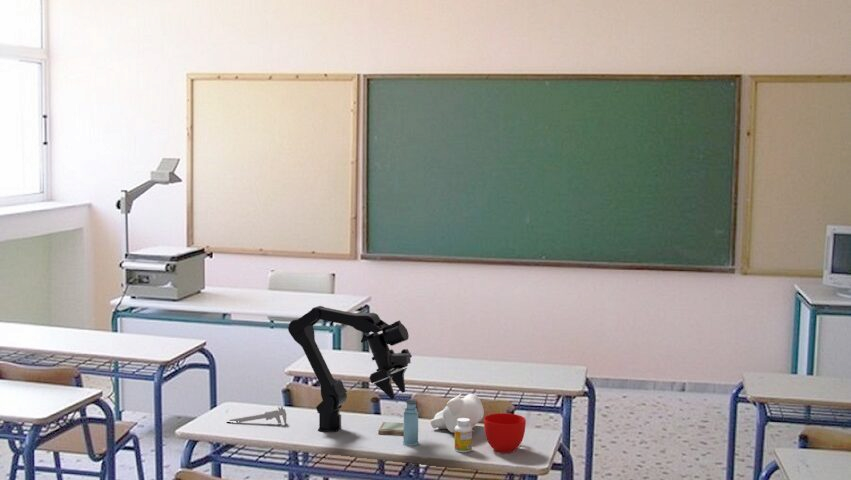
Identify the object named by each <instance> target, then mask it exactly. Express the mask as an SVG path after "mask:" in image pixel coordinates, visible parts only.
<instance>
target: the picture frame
mask: <svg viewBox="0 0 851 480" xmlns="http://www.w3.org/2000/svg"><path fill="white" fill-rule="evenodd" d="M377 432H378V435H389V436H390V435H393V436H404V422H392V421H391V422H387V421H383V422H382V423H381V426H380V427H379V428H378V431H377Z"/></svg>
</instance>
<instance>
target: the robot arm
mask: <svg viewBox="0 0 851 480" xmlns="http://www.w3.org/2000/svg"><path fill="white" fill-rule="evenodd" d="M320 320H322V321H325V322H330V323H335V324H341V325H346V326H349V327H352V328H353V329H354V330H356V331H359V332H361V333H364V334H362V338H361V340H360V343H362V344H363V343H365V342H367V344H368V347H369V349H370V352H371V354H372V357H371V361H374V362H375V363H376V366H377V369H376V371H375V372H372V373H371V374H370V376H369V381H370V383H371V384H373V385H375V386H377V388H379V389H380V390H381V391H382V392H383V393H385V395H387V396H388V397H389V398H390V399H391V400H394V399H395V398H396V397H395V392H394V388H393V386H392V385H393V384H392V382H393V383H394V384H395V386H396V387H397V389H399V391H400V392H401V393H402V394H404V393H405V392H406V385H405V373H406V371H407V369H408V366H409V364H411V358H412V357H413V355H412V354H411V352H410V350H409V349H408V348H406V349H405V348H404V349H401V352H396V353H395V351H394V350H393V349H392V348H391V349H390V347H389V345H390V346H391V347H393V346H396V345H398V344H401V343H403V342H405V341H408V340H409V336H410V335H409V332H408V329H407V328H406V326H405V325H404V324H403V323H402V322H401V320H397V321H395V322H393V323H392V324H388V323H387V322H385V320H382V319H381V317H380V316H379V315H378V314H377V313H375V312H357V313H356V312H349V311H346V310H341V309H336V308H335V309H334V308H331V307H325V306H323V305H318V306H315V307H312V308H311V310H309V311H308V312H307V313H305V314H303V315H302V316H301V317H299V318H296V319H294V320H291V321H290V322H289V323H288V326H287V329H288V333H289V335H290V336H291V337H292V339H293V340H294V341H295V342H296V343H297V344H298V345H299V346H300V347H301V348H302V350H303V352H304V354H305V356H306V358H307V360H308V363H309V365H310V366H311V369H312V371H313V372H314V374H315V377H316V379H317V380H318V383H319V385H320V396H321V400H322V401H321V402H319V404H317V406H316V407H315V409H316V412H317V414H319V416H318V418H319V419H318V420H319V425H318V426H319V427H318V429H317V431H320V432H338V431H339V430H340V429H341V427H342V414H341V412H340V411H341V410H340V409H342V408H343V405H344V404H345V403H346V402H347V398H348V396H347V395H348V394H347V392H348V390H347V389H346V388H345V386H344V383H343V381H342V380H340V381H336V379H335V378H334V377H333V375H332V373H331V371H330V369H329V366H328V364H327V362H326V361H325V359H324V357H323V355H322V352H321V350H320V348H319V346H318V344H317V342H316V337H315V335H316V334H315V328H314V326H315V325H316V324H318V322H319V321H320ZM380 332H381V333H380ZM369 333H370V334H369Z"/></svg>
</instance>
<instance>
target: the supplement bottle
mask: <svg viewBox="0 0 851 480" xmlns="http://www.w3.org/2000/svg"><path fill="white" fill-rule="evenodd" d="M457 424H458V425H457V426H456V427H455V433H454V446H453V447H454V451H456V453H457V452H458V453H469V452H471V451H472V448H473V446H472V445H473V431H472V430H473V429H472V427H471V426H469V425H470V419H468V418H459V419H457Z"/></svg>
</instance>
